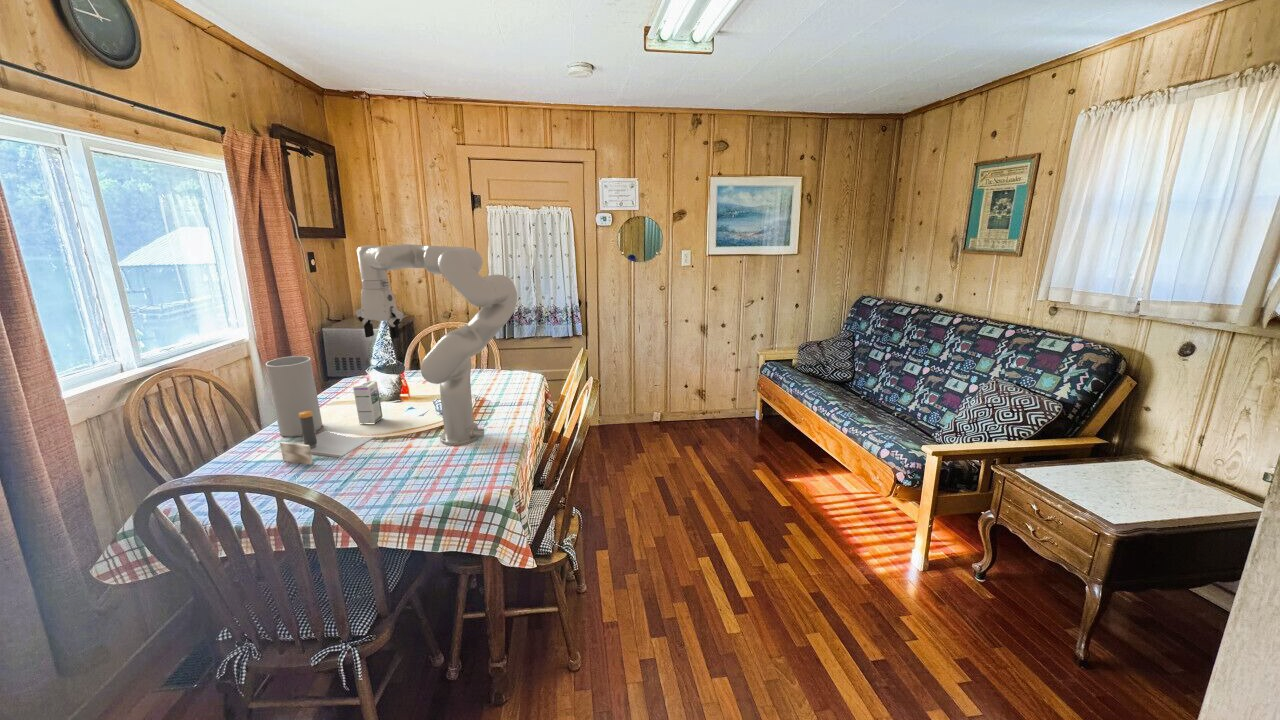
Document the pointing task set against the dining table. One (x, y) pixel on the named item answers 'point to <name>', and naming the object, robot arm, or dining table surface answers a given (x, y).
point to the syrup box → (368, 402)
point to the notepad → (336, 444)
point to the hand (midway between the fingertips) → (382, 337)
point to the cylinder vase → (293, 393)
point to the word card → (296, 453)
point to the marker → (308, 428)
